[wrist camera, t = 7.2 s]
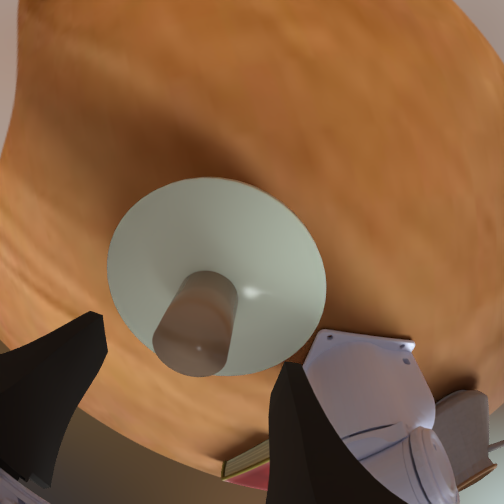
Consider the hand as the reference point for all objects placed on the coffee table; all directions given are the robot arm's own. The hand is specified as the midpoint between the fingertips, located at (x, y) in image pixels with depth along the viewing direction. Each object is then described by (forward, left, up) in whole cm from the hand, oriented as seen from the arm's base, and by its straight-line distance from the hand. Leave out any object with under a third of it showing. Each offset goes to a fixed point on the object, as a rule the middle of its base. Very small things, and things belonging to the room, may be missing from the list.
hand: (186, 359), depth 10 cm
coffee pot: (-34, +11, -10) cm, 37 cm away
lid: (0, 0, -5) cm, 5 cm away
